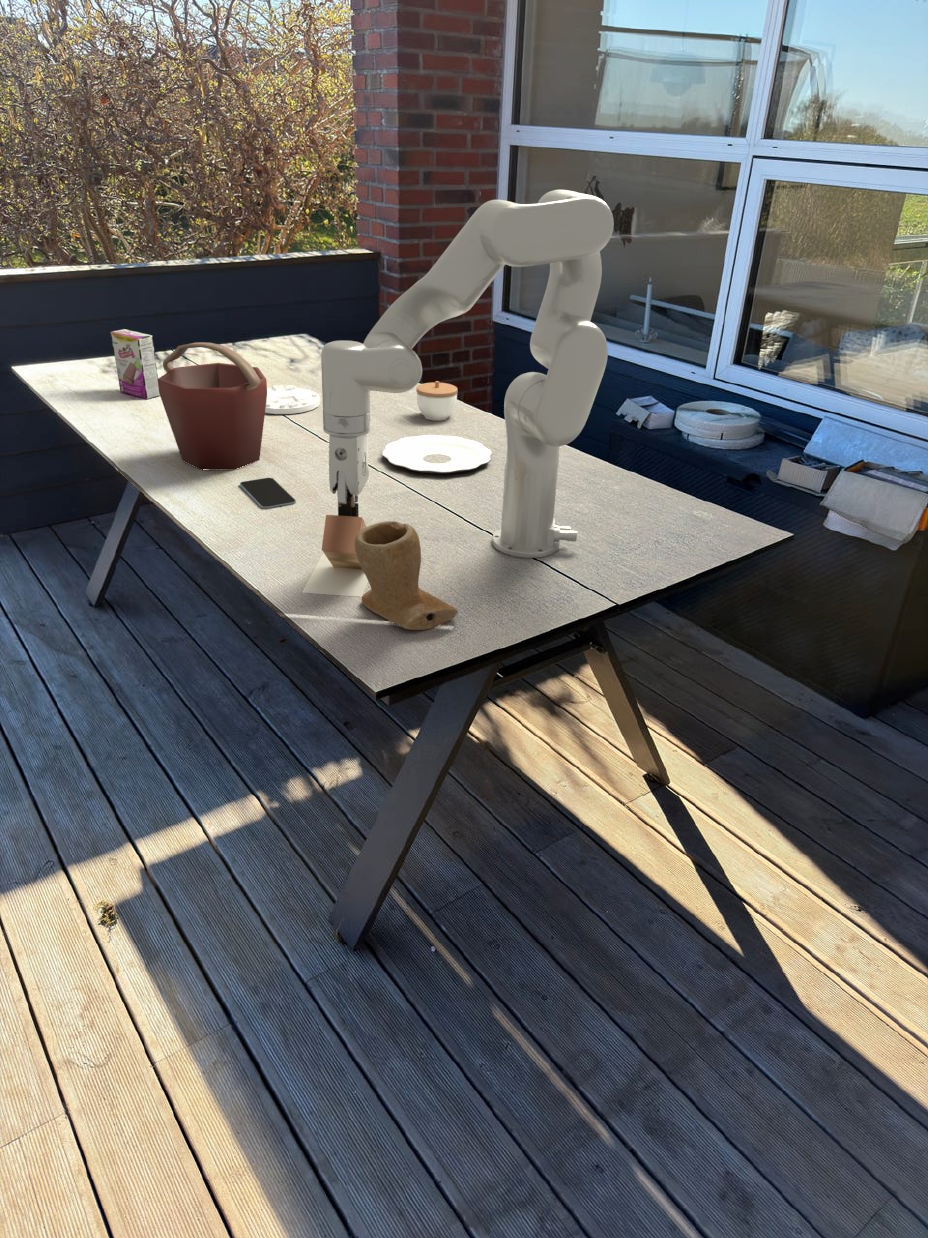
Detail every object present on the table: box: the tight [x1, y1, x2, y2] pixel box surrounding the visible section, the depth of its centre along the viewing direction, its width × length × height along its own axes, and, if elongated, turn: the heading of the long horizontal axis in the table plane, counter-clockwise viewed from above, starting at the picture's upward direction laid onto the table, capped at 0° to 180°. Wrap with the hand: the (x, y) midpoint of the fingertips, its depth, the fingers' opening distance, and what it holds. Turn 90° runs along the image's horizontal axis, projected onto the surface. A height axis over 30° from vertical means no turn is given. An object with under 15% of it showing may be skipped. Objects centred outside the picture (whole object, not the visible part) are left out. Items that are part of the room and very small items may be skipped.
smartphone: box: [239, 477, 297, 510], centre depth 184 cm, size 7×1×15 cm
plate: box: [381, 434, 493, 475], centre depth 206 cm, size 25×25×2 cm
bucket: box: [157, 341, 268, 471], centre depth 196 cm, size 24×22×25 cm
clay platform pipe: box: [355, 520, 459, 631], centre depth 138 cm, size 15×12×15 cm
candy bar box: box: [110, 328, 160, 400], centre depth 239 cm, size 11×5×16 cm, turn 58°
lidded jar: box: [415, 380, 459, 422], centre depth 232 cm, size 11×11×9 cm
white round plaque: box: [265, 384, 321, 415], centre depth 239 cm, size 20×20×3 cm
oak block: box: [321, 514, 367, 569], centre depth 151 cm, size 6×6×10 cm
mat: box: [301, 551, 369, 598], centre depth 156 cm, size 10×22×1 cm, turn 175°
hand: (348, 525), depth 153 cm, fingers closed
